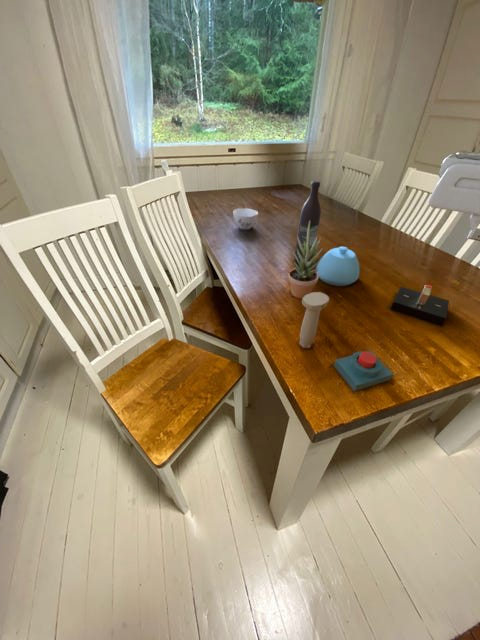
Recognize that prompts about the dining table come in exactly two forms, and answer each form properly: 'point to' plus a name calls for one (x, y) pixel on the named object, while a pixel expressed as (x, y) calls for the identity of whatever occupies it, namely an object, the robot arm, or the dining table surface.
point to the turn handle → (424, 295)
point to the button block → (362, 372)
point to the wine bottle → (309, 219)
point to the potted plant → (305, 268)
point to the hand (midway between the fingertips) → (476, 239)
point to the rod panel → (429, 312)
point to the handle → (311, 316)
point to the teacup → (245, 217)
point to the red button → (366, 360)
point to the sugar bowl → (339, 267)
